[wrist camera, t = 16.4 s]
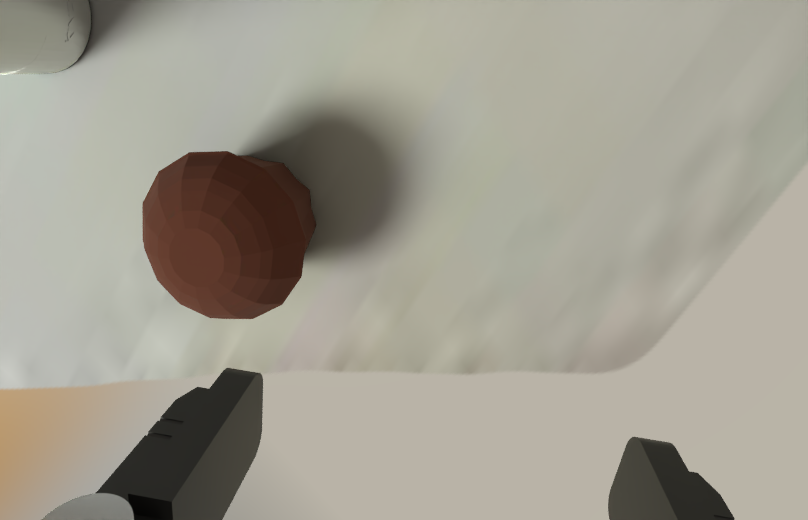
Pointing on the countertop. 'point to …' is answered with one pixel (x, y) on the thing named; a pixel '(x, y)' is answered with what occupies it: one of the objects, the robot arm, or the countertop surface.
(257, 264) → the muffin
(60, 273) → the countertop surface
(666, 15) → the countertop surface
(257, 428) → the robot arm
